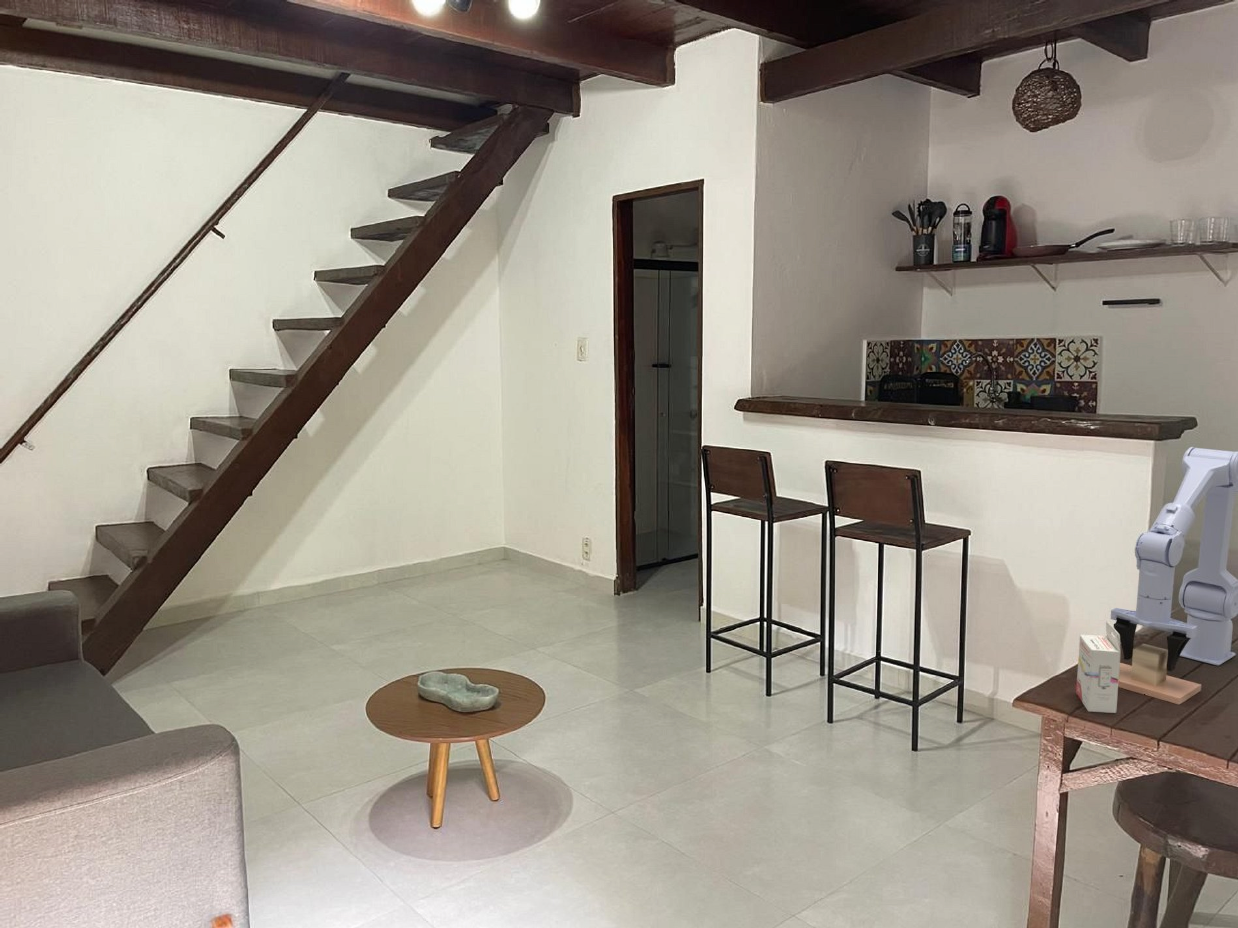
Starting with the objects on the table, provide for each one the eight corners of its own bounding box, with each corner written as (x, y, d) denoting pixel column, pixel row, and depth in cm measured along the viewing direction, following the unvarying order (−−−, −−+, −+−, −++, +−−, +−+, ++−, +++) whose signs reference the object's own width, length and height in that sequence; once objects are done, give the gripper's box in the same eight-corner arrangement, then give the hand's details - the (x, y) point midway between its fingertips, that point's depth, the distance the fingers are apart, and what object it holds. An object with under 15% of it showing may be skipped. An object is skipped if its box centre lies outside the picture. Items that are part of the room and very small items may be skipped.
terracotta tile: (1118, 667, 187) (1118, 662, 187) (1200, 690, 175) (1201, 684, 175) (1095, 680, 181) (1095, 674, 181) (1179, 704, 169) (1179, 698, 169)
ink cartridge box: (1074, 693, 175) (1079, 618, 173) (1102, 695, 174) (1108, 619, 172) (1087, 711, 167) (1092, 633, 164) (1117, 714, 166) (1123, 634, 163)
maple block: (1141, 672, 181) (1143, 643, 180) (1165, 679, 178) (1168, 649, 177) (1130, 678, 178) (1133, 648, 177) (1155, 685, 175) (1158, 655, 174)
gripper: (1105, 590, 179) (1100, 658, 181) (1188, 608, 167) (1181, 680, 169) (1122, 584, 183) (1116, 649, 185) (1203, 600, 172) (1197, 670, 174)
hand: (1149, 663), depth 177 cm, fingers open, 7 cm apart
